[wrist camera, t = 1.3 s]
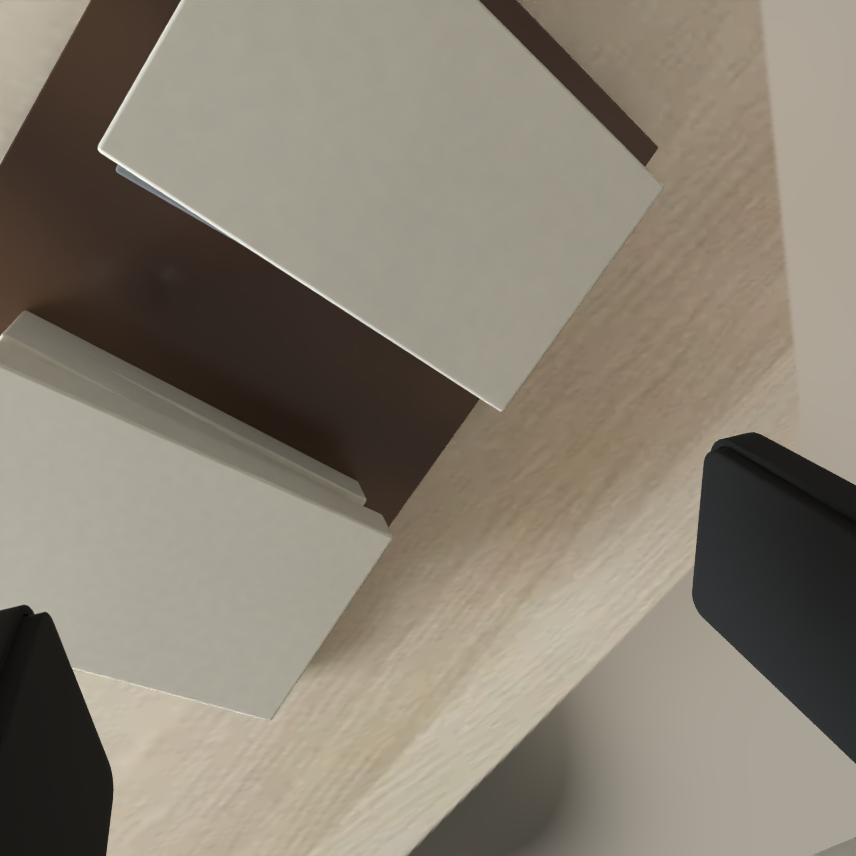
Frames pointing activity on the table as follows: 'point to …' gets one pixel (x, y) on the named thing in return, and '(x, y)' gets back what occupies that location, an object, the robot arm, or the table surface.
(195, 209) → the white book
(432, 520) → the table surface
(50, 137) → the shelf board
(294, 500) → the white stack
